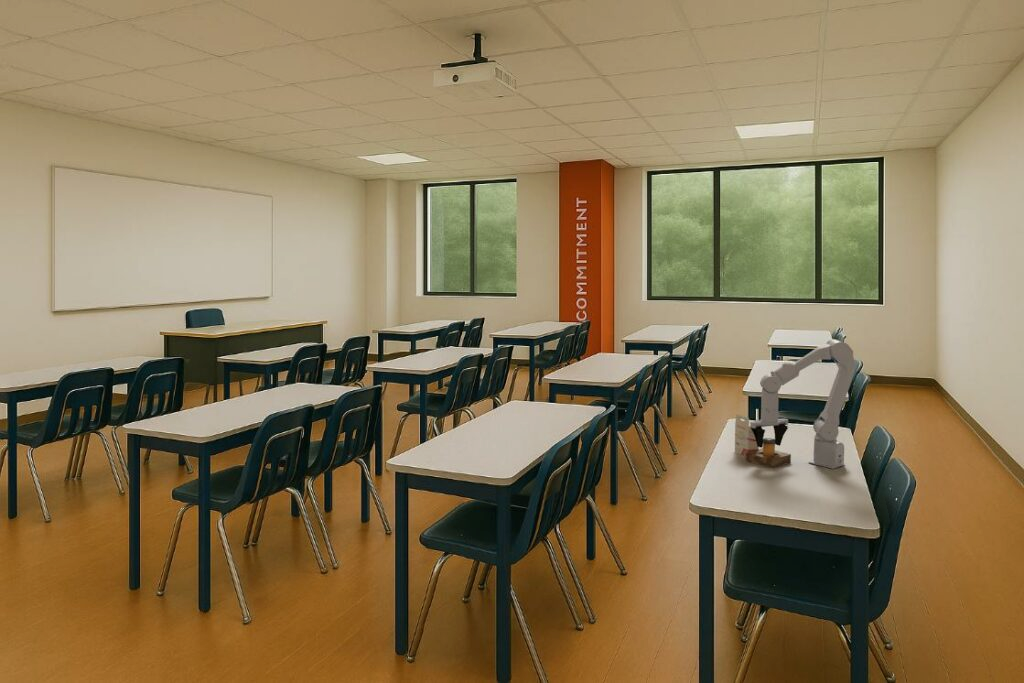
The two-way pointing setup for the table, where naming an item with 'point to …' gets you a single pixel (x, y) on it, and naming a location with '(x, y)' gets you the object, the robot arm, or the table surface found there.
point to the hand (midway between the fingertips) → (768, 445)
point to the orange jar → (769, 447)
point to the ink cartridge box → (744, 436)
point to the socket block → (768, 458)
